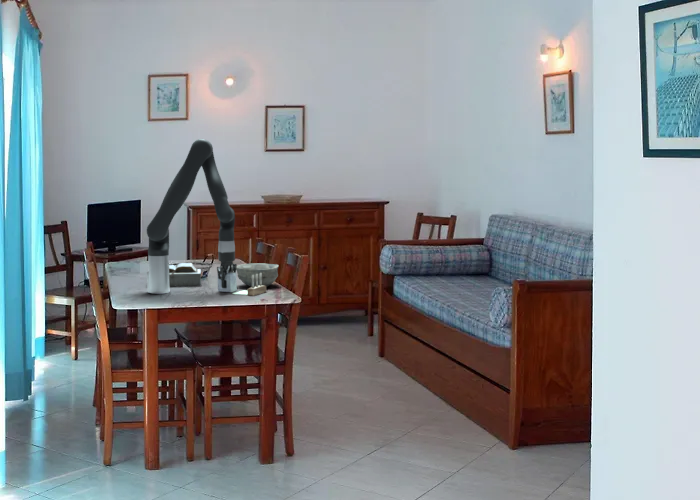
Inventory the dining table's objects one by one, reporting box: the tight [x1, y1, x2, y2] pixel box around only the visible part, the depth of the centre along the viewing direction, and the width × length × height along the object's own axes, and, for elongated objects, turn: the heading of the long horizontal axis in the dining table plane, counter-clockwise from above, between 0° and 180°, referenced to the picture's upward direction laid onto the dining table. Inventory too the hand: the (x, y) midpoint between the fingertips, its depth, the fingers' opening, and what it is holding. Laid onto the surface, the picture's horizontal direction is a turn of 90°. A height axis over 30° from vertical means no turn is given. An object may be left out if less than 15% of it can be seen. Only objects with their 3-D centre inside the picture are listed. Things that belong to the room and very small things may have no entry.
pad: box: [231, 289, 248, 296], centre depth 413 cm, size 8×10×1 cm
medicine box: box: [217, 272, 238, 293], centre depth 416 cm, size 8×4×9 cm, turn 58°
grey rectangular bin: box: [169, 262, 202, 288], centre depth 441 cm, size 23×27×10 cm
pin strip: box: [246, 273, 267, 297], centre depth 410 cm, size 3×12×9 cm, turn 157°
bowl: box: [236, 262, 279, 288], centre depth 432 cm, size 21×21×10 cm
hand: (227, 287), depth 416 cm, fingers closed on medicine box, 5 cm apart
